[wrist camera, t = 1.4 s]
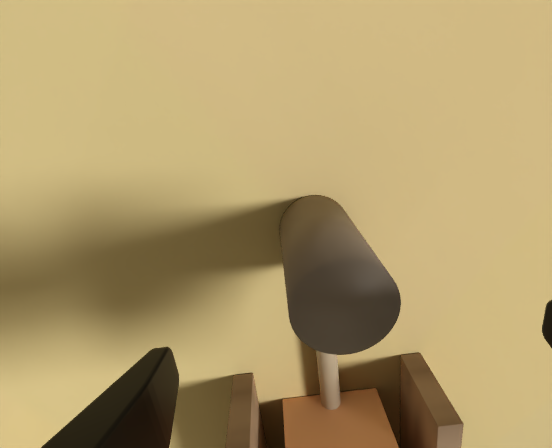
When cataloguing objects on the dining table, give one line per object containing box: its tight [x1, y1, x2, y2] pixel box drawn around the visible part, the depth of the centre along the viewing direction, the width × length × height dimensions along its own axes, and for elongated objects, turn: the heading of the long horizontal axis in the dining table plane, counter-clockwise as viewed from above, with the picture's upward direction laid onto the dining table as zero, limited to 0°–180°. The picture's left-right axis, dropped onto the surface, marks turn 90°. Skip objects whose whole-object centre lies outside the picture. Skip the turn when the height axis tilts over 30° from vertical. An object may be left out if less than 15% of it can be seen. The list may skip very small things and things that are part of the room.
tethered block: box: [280, 195, 401, 448], centre depth 14 cm, size 16×5×6 cm, turn 7°
